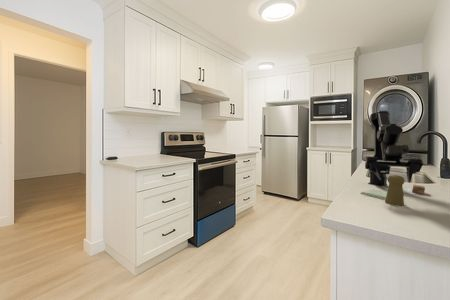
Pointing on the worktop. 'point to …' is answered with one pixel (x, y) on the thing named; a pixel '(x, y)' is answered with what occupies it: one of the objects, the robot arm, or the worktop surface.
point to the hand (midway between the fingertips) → (395, 181)
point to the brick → (418, 189)
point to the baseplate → (375, 193)
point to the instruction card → (405, 191)
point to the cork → (395, 191)
